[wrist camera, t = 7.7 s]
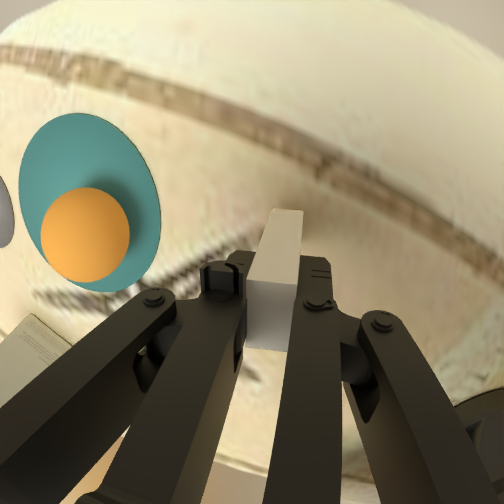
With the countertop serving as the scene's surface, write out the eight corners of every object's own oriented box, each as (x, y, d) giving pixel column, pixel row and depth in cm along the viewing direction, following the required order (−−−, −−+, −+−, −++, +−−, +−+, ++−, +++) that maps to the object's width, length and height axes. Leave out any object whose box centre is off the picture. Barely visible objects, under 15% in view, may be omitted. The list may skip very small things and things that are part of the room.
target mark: (154, 101, 15) (152, 102, 15) (170, 303, 21) (169, 304, 21) (11, 127, 17) (9, 128, 17) (40, 278, 23) (39, 279, 23)
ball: (71, 185, 19) (134, 170, 17) (93, 258, 21) (155, 255, 19) (12, 212, 14) (72, 196, 12) (43, 298, 16) (107, 302, 15)
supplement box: (30, 310, 26) (-47, 391, 15) (85, 354, 26) (16, 451, 15) (29, 347, 29) (-31, 419, 18) (77, 385, 30) (24, 466, 19)
